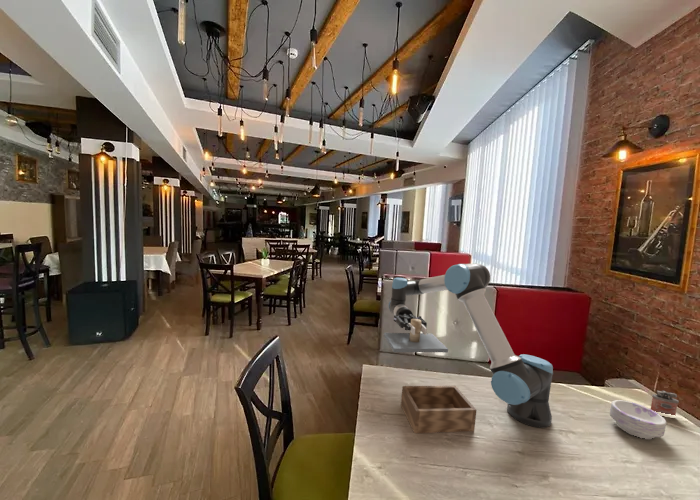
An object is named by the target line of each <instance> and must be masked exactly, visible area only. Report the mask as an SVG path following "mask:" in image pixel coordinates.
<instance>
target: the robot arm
mask: <svg viewBox="0 0 700 500" xmlns="http://www.w3.org/2000/svg"><path fill="white" fill-rule="evenodd" d="M490 282H491V272H490V270H489V269H488V268H487V267H486V266H485V265H483V264H481V263H476V262H475V263H458V264H454V265H451V266H449V268H447V270H446V272H445V274H442V275H437V276H436V275H435V276H432V277H427V278H422V279H421V278H420V279H417V280H410V281H409V280H408V279H406V277H405V278H404V277H394V278H393V280H392V284H391V296H390V297H391V298H390V300H389V302H388V305H387V306H388V310H389V311H390V313H391V314H392V315H393V321H394V322H395V323H396V324H397V325H398V326H399V327H400V329H404V331H409V333H410V332H411V333H412V334H413V335H415V328H414V327H413V325H412V324H411V319H419V320H421V332H420V333H423V334H424V335H427V332H428V331H427V330H428V328H427V326H428V325H427V324H428V323H427V322H426V320H424V319H423V318H422V316H421V315H419V316H416V315H415V314H413V312H412V310H411V309H409V307H408V306H406V300H407V297H408V296H416V295H424V294H429V293H436V292H443V291H444V292H445V291H448V292H449V293H452V294H455V296H456V300H458V301H459V302H461V303H463V305H464V307H465V310H466V311H467V313H468V315H469V317H470V320H471V321H472V323H473V326H474V328H475V330H476V332H477V334H478V336H479V339H480V340H481V342H482V346H483V347H484V349H485V351H486V352H487V355H488V357H489V359H490V361H491V363H490V366H489V369H490V372H491V374H492V376H491V381H490V386H491V389H492V390H493V392H494V393H495V396H497V397H498V399H499V400H501V401H502V402H505V403H506V405H507V406H506V411H507V412H508V414H509V415H510V416H511V417H512V418H514V419H515V420H516V421H519V422H520V423H522V424H525V425H527V426H530V427H533V428H540V429H542V428H544V429H545V428H548V427H551V425H552V422H553V420H552V419H553V416H552V412H551V407H550V402H549V401H550V394H551V393H550V392H551V387H552V380H553V375H554V371H553V369H554V367H553V364H552V363H550V362H549V361H548V360H546V359H543V358H541V357H537V356H535V355H530V354H524V353H523V354H520V355H516V354H515V353H514V351H513V349H512V347H511V345H510V343H509V341H508V339H507V337H506V334H505V333H504V331H503V329H502V327H501V326H500V323H499V321H498V319H497V318H496V315H495V314H494V312H493V309H492V308H491V305H490V304H489V301H488V300H487V298H486V296H485V294H486V291H487V289H486V287H487V286H489V283H490Z"/></svg>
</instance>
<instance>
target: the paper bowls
mask: <svg viewBox="0 0 700 500" xmlns="http://www.w3.org/2000/svg"><path fill="white" fill-rule="evenodd" d="M609 408H610V409H609V416H610V417H611V418H612V420H613V421H615V423H616V425H617V427H619V428H620V429H621V430H623V431H624V432H625V431H626V432H625V433H626V434H629V435H631V436H633V435H634V436H633V437H635V436H637V437H636V438H638V437H640V438H639V439H642V438H645V439H644V440H653V439H655V438H662V437H664V436H665V432H666V428H667V420H666V419H665V417H662V416H661V415H659V414H658V413H656V412H655V411H653V410H651V408H648V407H647V406H645V405H642V404H639V403H636V402H632V401H630V400H629V401H628V400H622V399H617V400H616V399H615V400H612V401H611V404H610V407H609ZM652 438H653V439H652Z"/></svg>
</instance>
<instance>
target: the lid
mask: <svg viewBox="0 0 700 500" xmlns="http://www.w3.org/2000/svg"><path fill="white" fill-rule="evenodd" d="M411 324H412V325H413V327H414V328H415V335H413V334H412V333H411V332H410V331H409V332H384V333H383V337H384V339H385V340H386V342H387V344H388V345H389V346H390V349H391V350H392V352H393V353H448V352H449V348H448V347H446V346H445V344H444V343H443V342H442V341H440V339H438V337H437V336H435V335H434V334H433V333H427V335H424V334H423V333H422V332H421V320H419V319H411Z"/></svg>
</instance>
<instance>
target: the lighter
mask: <svg viewBox="0 0 700 500" xmlns="http://www.w3.org/2000/svg"><path fill="white" fill-rule="evenodd" d="M651 398H652V399H651V405H650V409H651V410H653V411H656V412H661V413H665V414H671V415H675V416H676V414H677V409H678V404H679V400H678V399H677V398H678V395H677V393H674V392H668V391H665V390H656V394H654V393H653V394H651Z"/></svg>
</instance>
